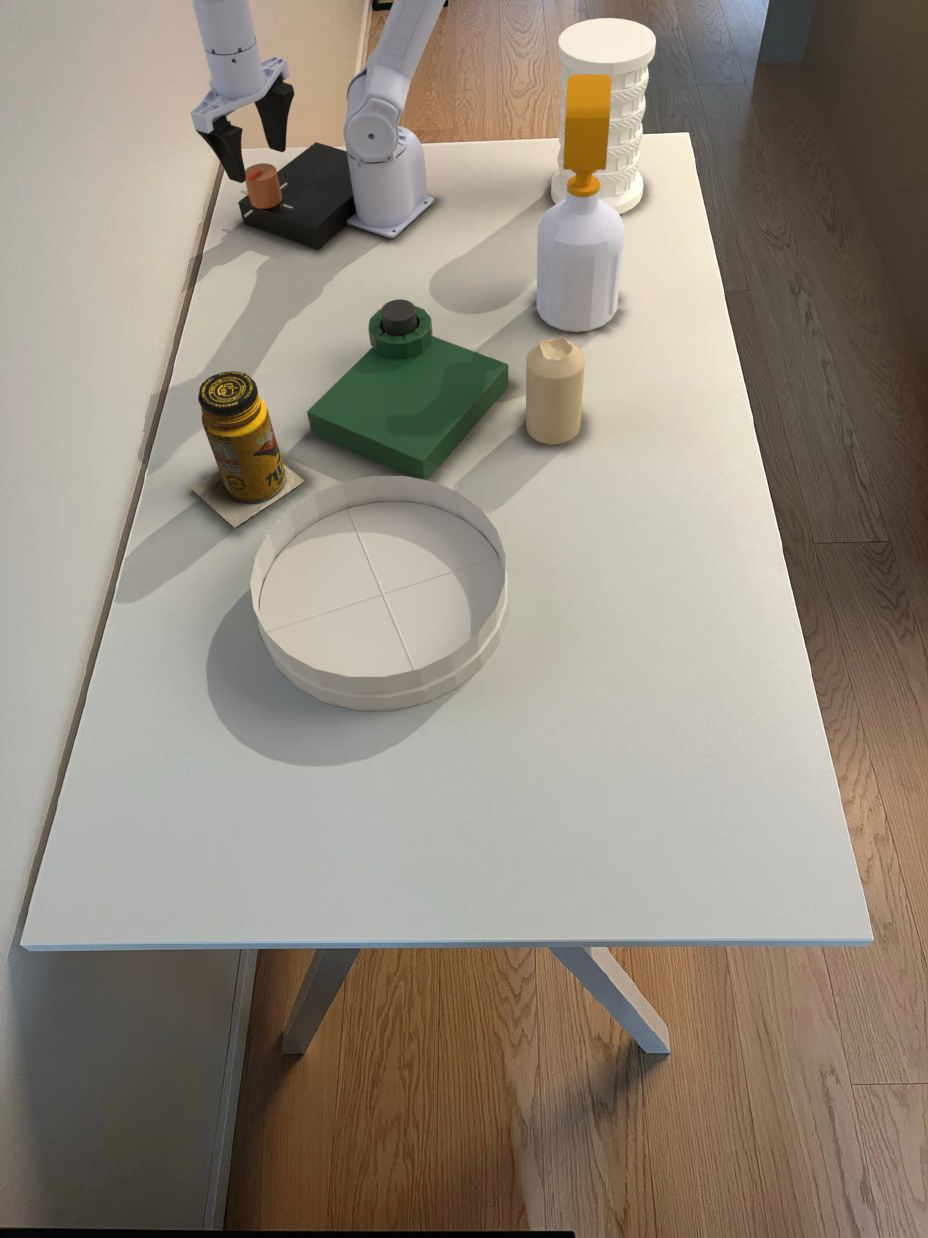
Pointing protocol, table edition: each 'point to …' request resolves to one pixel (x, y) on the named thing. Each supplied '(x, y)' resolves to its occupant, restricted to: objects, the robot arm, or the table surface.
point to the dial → (263, 186)
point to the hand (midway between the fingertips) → (257, 164)
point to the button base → (409, 399)
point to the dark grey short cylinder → (399, 318)
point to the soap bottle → (581, 221)
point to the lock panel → (308, 198)
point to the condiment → (241, 449)
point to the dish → (381, 592)
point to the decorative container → (625, 60)
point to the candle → (554, 391)
